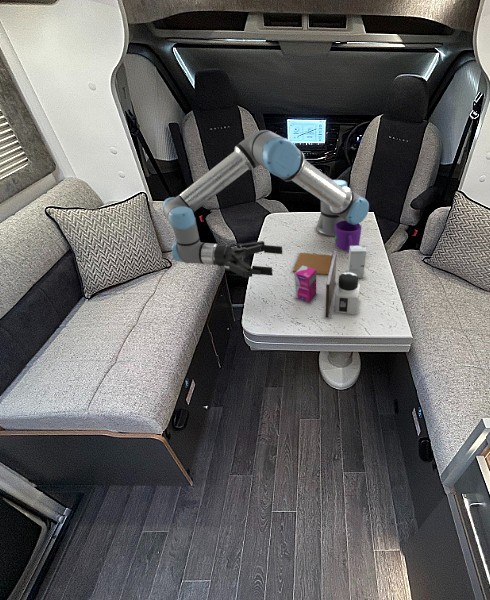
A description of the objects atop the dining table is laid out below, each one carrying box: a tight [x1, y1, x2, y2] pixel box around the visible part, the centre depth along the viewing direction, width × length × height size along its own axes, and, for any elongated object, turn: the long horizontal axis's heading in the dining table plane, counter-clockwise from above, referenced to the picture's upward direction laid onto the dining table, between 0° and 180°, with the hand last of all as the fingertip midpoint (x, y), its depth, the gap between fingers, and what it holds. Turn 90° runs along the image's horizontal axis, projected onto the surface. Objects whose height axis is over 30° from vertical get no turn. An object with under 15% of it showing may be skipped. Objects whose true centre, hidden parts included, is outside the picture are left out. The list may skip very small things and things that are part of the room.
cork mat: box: [292, 252, 333, 276], centre depth 141 cm, size 14×14×1 cm
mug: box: [334, 221, 362, 254], centre depth 147 cm, size 17×11×10 cm, turn 3°
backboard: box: [324, 251, 338, 319], centre depth 119 cm, size 20×1×14 cm, turn 171°
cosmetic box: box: [347, 245, 367, 279], centre depth 132 cm, size 6×4×12 cm
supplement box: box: [294, 265, 317, 304], centre depth 121 cm, size 6×6×12 cm
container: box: [333, 272, 361, 315], centre depth 116 cm, size 8×8×13 cm
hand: (277, 260), depth 116 cm, fingers open, 13 cm apart
